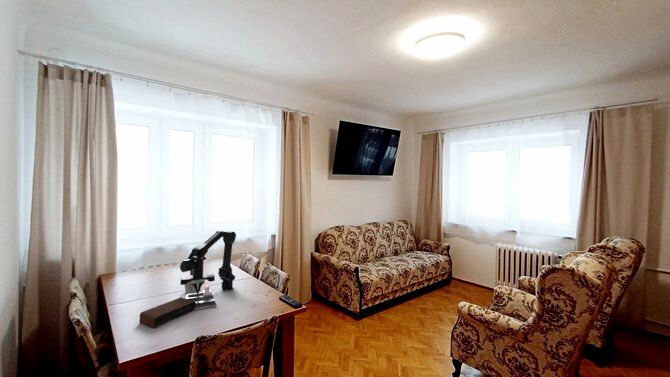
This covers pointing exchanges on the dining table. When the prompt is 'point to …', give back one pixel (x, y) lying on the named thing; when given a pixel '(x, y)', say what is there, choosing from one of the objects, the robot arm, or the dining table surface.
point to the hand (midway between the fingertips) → (197, 293)
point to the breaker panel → (201, 298)
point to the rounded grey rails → (205, 306)
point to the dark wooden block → (167, 312)
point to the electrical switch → (190, 287)
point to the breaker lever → (206, 290)
